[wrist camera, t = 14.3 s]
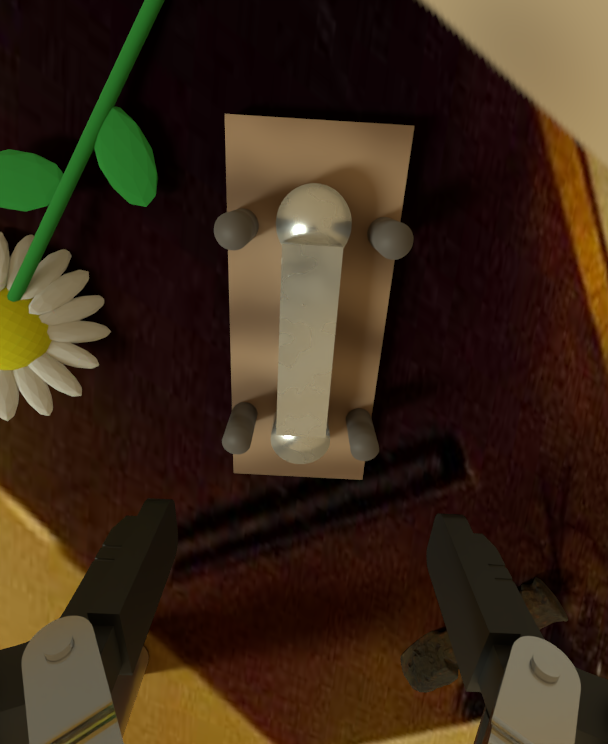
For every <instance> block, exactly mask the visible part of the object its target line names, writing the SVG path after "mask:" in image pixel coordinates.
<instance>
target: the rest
mask: <svg viewBox="0 0 608 744" xmlns="http://www.w3.org/2000/svg"><path fill="white" fill-rule="evenodd" d="M413 132H414V126H410V125H394V124H379V123H363V122H347V121H331V120H315V119H299V118H283V117H267V116H251V115H235V114H225V144H226V184H227V213H224V214H222V215H221V216H219V217H218V219H217V220H216V222H215V225H214V234H215V238H216V240H217V241H218V243H219V244H220V245H221V246H222V247H224V248H225V249H228V264H229V304H230V344H231V384H232V413H231V416H230V419H229V421H228V424H227V427H226V430H225V433H224V436H223V439H222V444H223V447H224V448H225V449H226V450H227V451H228V452H230V453H232V454H233V465H234V473H243V474H262V475H281V476H301V477H320V478H339V479H359V480H362V477H363V471H364V464H365V461H368V460H371V459H373V458H374V457H376V456H377V454H378V452H379V445H378V441H377V438H376V434H375V430H374V426H373V423H372V419H371V416H372V410H373V403H374V396H375V389H376V383H377V376H378V369H379V362H380V356H381V349H382V342H383V335H384V329H385V322H386V315H387V308H388V301H389V295H390V288H391V281H392V274H393V268H394V261H395V260H397V259H400V258H402V257H404V256H405V255H406V254H408V252H409V251H410V250H411V248H412V245H413V234H412V231H411V229H410V228H409V227H408V226H407V225H406V224H404V223H401V222H400V220H401V214H402V207H403V200H404V193H405V186H406V180H407V173H408V166H409V159H410V153H411V146H412V139H413ZM310 183H318V184H324V185H327V186H329V187H331V188H333V189H334V190H336V191H337V192H338V193H339V194H340V195H341V196H342V197H343V198H344V200H345V201H346V203H347V205H348V207H349V210H350V213H351V220H352V227H351V233H350V237H349V239H348V242H347V243H346V245H345V247H344V248H343V257H342V268H341V279H340V289H339V300H338V310H337V321H336V332H335V342H334V353H333V363H332V374H331V385H330V395H329V406H328V420H329V432H330V444H329V448H328V450H327V451H326V453H325V454H324V455H323V456H322V457H321V458H319V459H318V460H316V461H314V462H311V463H307V464H294V463H290V462H287V461H285V460H284V459H282V458H281V457H279V456H278V455H277V454H276V453H275V451H274V450H273V448H272V445H271V432H272V425H273V419H274V414H275V412H276V410H277V388H278V356H279V324H280V292H281V259H282V245H281V243H280V241H279V239H278V235H277V231H276V217H277V212H278V209H279V207H280V205H281V203H282V201H283V200H284V198H285V197H286V196H287V195H288V194H289V193H290V192H291V191H292V190H294V189H295V188H297V187H299V186H301V185H305V184H310Z"/></svg>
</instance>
